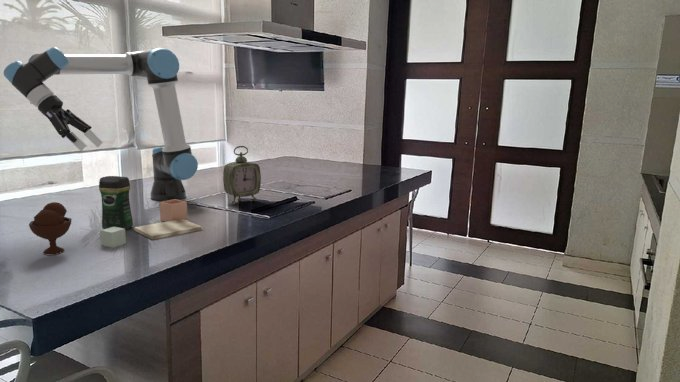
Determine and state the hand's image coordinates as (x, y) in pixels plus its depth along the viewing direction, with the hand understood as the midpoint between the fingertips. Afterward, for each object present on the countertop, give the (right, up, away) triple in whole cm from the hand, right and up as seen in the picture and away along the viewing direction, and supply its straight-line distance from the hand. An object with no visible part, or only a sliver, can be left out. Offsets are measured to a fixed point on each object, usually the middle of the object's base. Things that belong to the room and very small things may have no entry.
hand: (92, 146), depth 174 cm
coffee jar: (+9, -29, -1) cm, 30 cm away
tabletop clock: (+44, -21, +43) cm, 65 cm away
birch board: (+28, -30, -2) cm, 40 cm away
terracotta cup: (+25, -27, +12) cm, 38 cm away
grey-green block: (+16, -33, -19) cm, 41 cm away
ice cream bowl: (+2, -34, -27) cm, 44 cm away
